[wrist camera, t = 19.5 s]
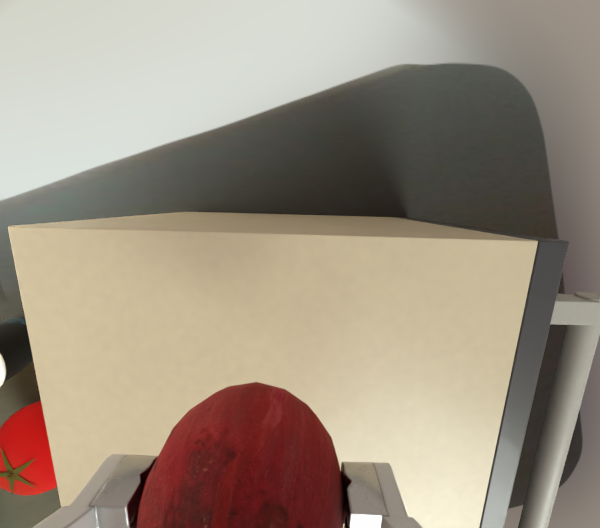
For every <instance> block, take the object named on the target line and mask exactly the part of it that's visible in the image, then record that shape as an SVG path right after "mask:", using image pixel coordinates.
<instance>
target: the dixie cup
mask: <svg viewBox="0 0 600 528" xmlns="http://www.w3.org/2000/svg"><path fill="white" fill-rule="evenodd" d="M32 361H33V356H32V351H31V346H30V340H29V335H28V330H27V325H26V319H25V314H24V315H20V316H17V317H13V318H10V319H6V320H3V321H0V387H1V386H2V384H3V383H4V382H5V381H6V380H8V379H9V378H11V377H12V376H13V375H15V374H16V373H17V372H19V371H20V370H21V369H23V368H24V367H26V366H27V365H28V364H30V363H31V362H32Z"/></svg>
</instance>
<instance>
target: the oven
mask: <svg viewBox="0 0 600 528" xmlns="http://www.w3.org/2000/svg"><path fill="white" fill-rule="evenodd" d="M8 230H9V236H10V241H11V246H12V251H13V257H14V262H15V267H16V272H17V277H18V283H19V288H20V293H21V298H22V304H23V309H24V314H25V319H26V325H27V330H28V335H29V340H30V346H31V351H32V356H33V361H34V367H35V372H36V377H37V382H38V388H39V393H40V398H41V403H42V409H43V414H44V419H45V424H46V430H47V435H48V440H49V445H50V451H51V456H52V461H53V466H54V472H55V477H56V482H57V487H58V493H59V498H60V503H61V508H62V507H63V506H70V504H71V503H72V502H73V501H74V499H75V498H76V497H77V495H78V494H79V493H80V492H81V490H82V489H83V488H84V486H85V485H86V484H87V483H88V481H89V480H90V479H91V477H92V476H93V475H94V474H95V472H96V471H97V470H98V468H99V467H100V466H101V464H102V463H103V462H104V461H105V459H106V458H107V457H108V456H110V455H111V454H127V455H128V454H131V455H147V456H159V454H160V452H161V450H162V448H163V446H164V444H165V442H166V440H167V439H168V437H169V435H170V433H171V431H172V429H173V427H174V426H175V425H176V424H177V423H178V422H179V421H180V420H181V419H182V417H183V416H184V415H185V414H186V413H187V412H188V411H189V410H190V409H192V408H193V407H195V406H196V405H198V404H199V403H201V402H202V401H204V400H205V399H207V398H208V397H210V396H211V395H213V394H214V393H216V392H218V391H220V390H222V389H224V388H226V387H228V386H234V385H241V384H247V383H254V382H259V383H263V384H267V385H271V386H275V387H278V388H282V389H286V390H287V391H289V392H290V393H291V394H293V395H294V396H296V397H297V398H299V399H300V400H301V401H303V402H304V403H306V404H307V405H308V406H309V407H310V408H311V409H312V411H313V412H314V413H315V414H316V415H317V417H318V418H319V420H320V421H321V423H322V424H323V426H324V427H325V429H326V430H327V432H328V433H329V434H330V436H331V437H332V441H333V444H334V448H335V451H336V455H337V458H338V462H339V466H340V471H341V463H342V462H372V463H373V462H378V463H389V464H390V465H391V468H392V471H393V474H394V477H395V480H396V483H397V486H398V489H399V492H400V495H401V498H402V501H403V504H404V507H405V509H406V512H407V515H408V517H413V518H414V519H415V520H416V521H417V522H418V523H419V524H420V525H421V526H422V528H479V527H480V522H481V517H482V512H483V507H484V502H485V498H486V493H487V488H488V483H489V478H490V473H491V468H492V464H493V459H494V454H495V449H496V444H497V439H498V434H499V429H500V425H501V420H502V415H503V410H504V405H505V400H506V395H507V390H508V386H509V381H510V376H511V371H512V366H513V361H514V356H515V351H516V347H517V342H518V337H519V332H520V327H521V322H522V317H523V313H524V308H525V303H526V298H527V293H528V288H529V283H530V278H531V274H532V269H533V264H534V259H535V254H536V249H537V244H538V241H536V240H530V239H524V238H518V237H512V236H506V235H499V234H493V233H487V232H481V231H475V230H469V229H463V228H457V227H451V226H445V225H438V224H432V223H426V222H420V221H414V220H408V219H402V218H396V217H367V216H331V215H294V214H257V213H221V212H177V213H164V214H152V215H140V216H127V217H115V218H103V219H90V220H78V221H66V222H53V223H41V224H29V225H16V226H8ZM343 528H344V524H343Z"/></svg>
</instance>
